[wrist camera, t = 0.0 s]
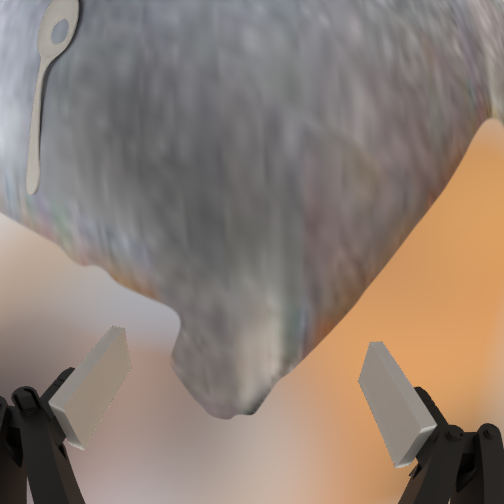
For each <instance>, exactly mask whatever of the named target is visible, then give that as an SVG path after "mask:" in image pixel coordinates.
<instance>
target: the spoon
mask: <svg viewBox="0 0 504 504" xmlns="http://www.w3.org/2000/svg"><path fill="white" fill-rule="evenodd" d="M78 17H79V0H53V1H52V2H51V3H50V5H49V6H48V8H47V10H46V12H45V14H44V16H43V18H42V21H41V24H40V28H39V34H38V50H39V53H40V55H41V63H40V68H39V73H38V78H37V84H36V90H35V96H34V103H33V110H32V119H31V128H30V140H29V153H28V164H27V174H26V191H27V193H28V194H29V195H33V194H34V193H35V192H37V190H38V188H39V184H40V157H39V133H40V111H41V95H42V86H43V80H44V75H45V72H46V69H47V67H48V66H49V64H50V63H51V62H52V60H53V59H55V58H56V57H57V56H58V55H59V54H61V53H62V52H63V51H64V50H65V49H66V47H67V46H68V45H69V43H70V41H71V39H72V37H73V35H74V33H75V30H76V26H77V22H78ZM63 19H66V20H67V21H68V23H69V31H68V35H67V37H66V39H65V40H64V41H63V42H61V43H59V44H55V43H53V42H52V40H51V33H52V30H53V28H54V27H55V25H56V24H57V23H58V22H59V21H60V20H63Z"/></svg>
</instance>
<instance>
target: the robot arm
mask: <svg viewBox="0 0 504 504" xmlns="http://www.w3.org/2000/svg"><path fill="white" fill-rule="evenodd" d="M131 369H132V367H131V362H130V357H129V351H128V346H127V340H126V335H125V328H120V327H115V326H112V327H111V328H110V330H109V331H108V332H107V333H106V334H105V335H104V336H103V338H102V339H101V340H100V341H99V342H98V343H97V344H96V345H95V347H94V348H93V349H92V350H91V351H90V352H89V354H88V355H87V356H86V357H85V359H83V361H82V362H81V363H80V364H79V365H78V367H77V368H76V369H75V368H71V367H70V368H69V369H67V370H65V371H63V372H62V373H61V374H60V375H59V376H58V378H57V380H55V381H54V382H53V384H52V385H51V386H50V387H49V388H48V389H47V390H46V391H45V393H44V394H43V395H42V396H41V397H40V398H39V396H38V394H37V392H36V390H35V389H34V388H32V387H29V386H24V387H20V388H18V389H16V390H15V391H14V392H13V394H12V397H11V399H12V401H13V403H14V405H15V407H14V406H9V405H8V404H7V402H6V400H5V398H3V397H1V396H0V504H27V499H26V497H27V495H26V493H27V492H26V491H27V477H28V481H29V485H30V490H31V493H32V497H33V501H34V504H85V502H84V499H83V497H82V495H81V492H80V489H79V487H78V484H77V481H76V479H75V476H74V473H73V471H72V467H71V464H70V461H69V458H68V455H67V452H66V448H65V446H64V444H63V441H64V439H65V438H67V440H68V441H69V443H70V445H72V446H74V447H77V448H79V449H82V450H85V448H86V447H87V445H88V443H89V441H90V439H91V438H92V436H93V434H94V432H95V430H96V429H97V427H98V425H99V423H100V422H101V420H102V418H103V416H104V415H105V413H106V411H107V409H108V408H109V406H110V404H111V402H112V401H113V399H114V397H115V396H116V394H117V392H118V391H119V389H120V387H121V386H122V384H123V382H124V381H125V379H126V377H127V376H128V374H129V372H130V371H131ZM358 382H359V384H360V387H361V389H362V391H363V393H364V395H365V398H366V400H367V402H368V404H369V407H370V409H371V411H372V414H373V416H374V418H375V421H376V423H377V425H378V428H379V430H380V432H381V434H382V437H383V439H384V442H385V444H386V446H387V449H388V451H389V454H390V456H391V459H392V461H393V464H394V466H395V468H399V467H403V466H407V465H410V464H411V463H412V461H413V460H414V459H415V457H416V458H417V460H418V464H417V465H416V466H415V468H414V469H413V470H412V472H411V473H410V474H409V476H411V475H412V476H411V478H410V480H409V482H408V485H407V487H406V489H405V491H404V493H403V495H402V497H401V499H400V501H399V503H398V504H448V502H449V499H450V504H504V448H503V443H502V438H501V433H500V431H499V429H498V428H497V427H496V426H494V425H493V424H489V423H486V424H483V425H482V426H480V428H479V429H478V431H477V432H464V431H463V430H462V429H461V428H460V427H458V426H456V425H449V424H448V423H447V421H446V420H445V418H444V417H443V415H442V414H441V412H440V411H439V409H438V408H437V406H435V403H434V402H433V400H432V399H431V397H430V396H429V394H428V393H427V392H426V391H425V390H423V389H422V388H421V387H413V386H412V385H411V383H410V382H409V381H408V379H407V377H406V376H405V374H404V373H403V371H402V370H401V368H400V367H399V365H398V364H397V362H396V361H395V359H394V358H393V357H392V355H391V354H390V352H389V351H388V349H387V348H386V347H385V345H384V344H383V342H370V343H369V347H368V350H367V354H366V357H365V361H364V364H363V368H362V371H361V374H360V377H359V380H358ZM450 496H451V497H450Z"/></svg>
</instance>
